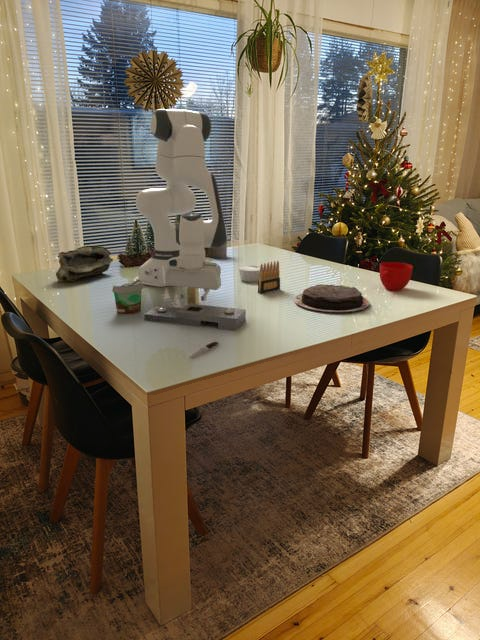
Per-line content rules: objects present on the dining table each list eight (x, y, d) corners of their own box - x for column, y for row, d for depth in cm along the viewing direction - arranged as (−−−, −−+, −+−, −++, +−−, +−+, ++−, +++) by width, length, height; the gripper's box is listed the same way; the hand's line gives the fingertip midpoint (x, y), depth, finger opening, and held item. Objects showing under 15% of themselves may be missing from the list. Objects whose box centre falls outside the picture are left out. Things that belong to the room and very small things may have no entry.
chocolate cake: (291, 293, 200) (291, 277, 198) (361, 294, 199) (362, 278, 197) (296, 314, 173) (297, 296, 171) (377, 316, 172) (379, 298, 170)
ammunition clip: (260, 293, 197) (261, 264, 193) (257, 292, 198) (258, 263, 194) (280, 289, 203) (281, 260, 199) (277, 288, 204) (278, 259, 201)
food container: (127, 317, 167) (125, 288, 164) (113, 314, 170) (111, 286, 167) (151, 308, 177) (150, 281, 174) (139, 305, 180) (137, 278, 177)
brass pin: (187, 308, 177) (187, 286, 175) (191, 306, 180) (190, 284, 177) (195, 309, 176) (195, 287, 174) (198, 306, 179) (198, 285, 177)
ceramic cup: (366, 290, 203) (369, 266, 199) (386, 283, 214) (389, 260, 211) (396, 297, 194) (399, 272, 191) (415, 289, 206) (418, 265, 203)
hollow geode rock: (110, 281, 232) (94, 255, 235) (122, 265, 224) (106, 238, 227) (57, 292, 210) (41, 263, 213) (69, 274, 202) (52, 245, 205)
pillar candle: (206, 258, 261) (206, 229, 256) (210, 254, 270) (211, 226, 266) (224, 259, 260) (225, 230, 255) (228, 255, 269) (228, 227, 264)
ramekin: (265, 277, 223) (265, 265, 222) (263, 283, 213) (263, 271, 211) (240, 276, 224) (240, 264, 223) (237, 282, 214) (237, 270, 212)
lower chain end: (144, 319, 165) (143, 311, 164) (158, 311, 174) (157, 303, 173) (200, 326, 159) (200, 317, 158) (211, 317, 168) (211, 308, 167)
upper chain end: (177, 323, 161) (177, 309, 160) (189, 314, 170) (189, 300, 169) (236, 330, 156) (236, 315, 154) (245, 321, 165) (245, 306, 163)
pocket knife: (217, 345, 145) (217, 339, 144) (220, 346, 144) (219, 339, 144) (187, 360, 134) (187, 353, 133) (190, 361, 134) (189, 354, 133)
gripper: (223, 261, 173) (223, 299, 177) (169, 257, 178) (171, 294, 183) (217, 265, 167) (217, 304, 171) (162, 260, 173) (163, 299, 177)
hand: (193, 299), depth 177 cm, fingers open, 7 cm apart
